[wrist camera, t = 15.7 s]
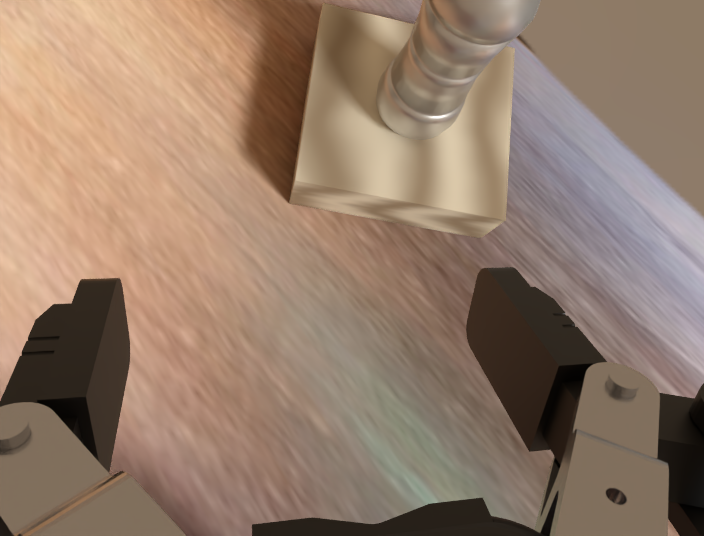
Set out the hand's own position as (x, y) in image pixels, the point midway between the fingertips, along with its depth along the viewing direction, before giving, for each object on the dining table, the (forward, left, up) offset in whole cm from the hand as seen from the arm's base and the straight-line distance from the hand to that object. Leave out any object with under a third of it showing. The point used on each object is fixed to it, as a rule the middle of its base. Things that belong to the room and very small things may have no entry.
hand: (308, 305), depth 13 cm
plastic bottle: (+9, +23, -29) cm, 37 cm away
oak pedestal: (+9, +23, -33) cm, 41 cm away
